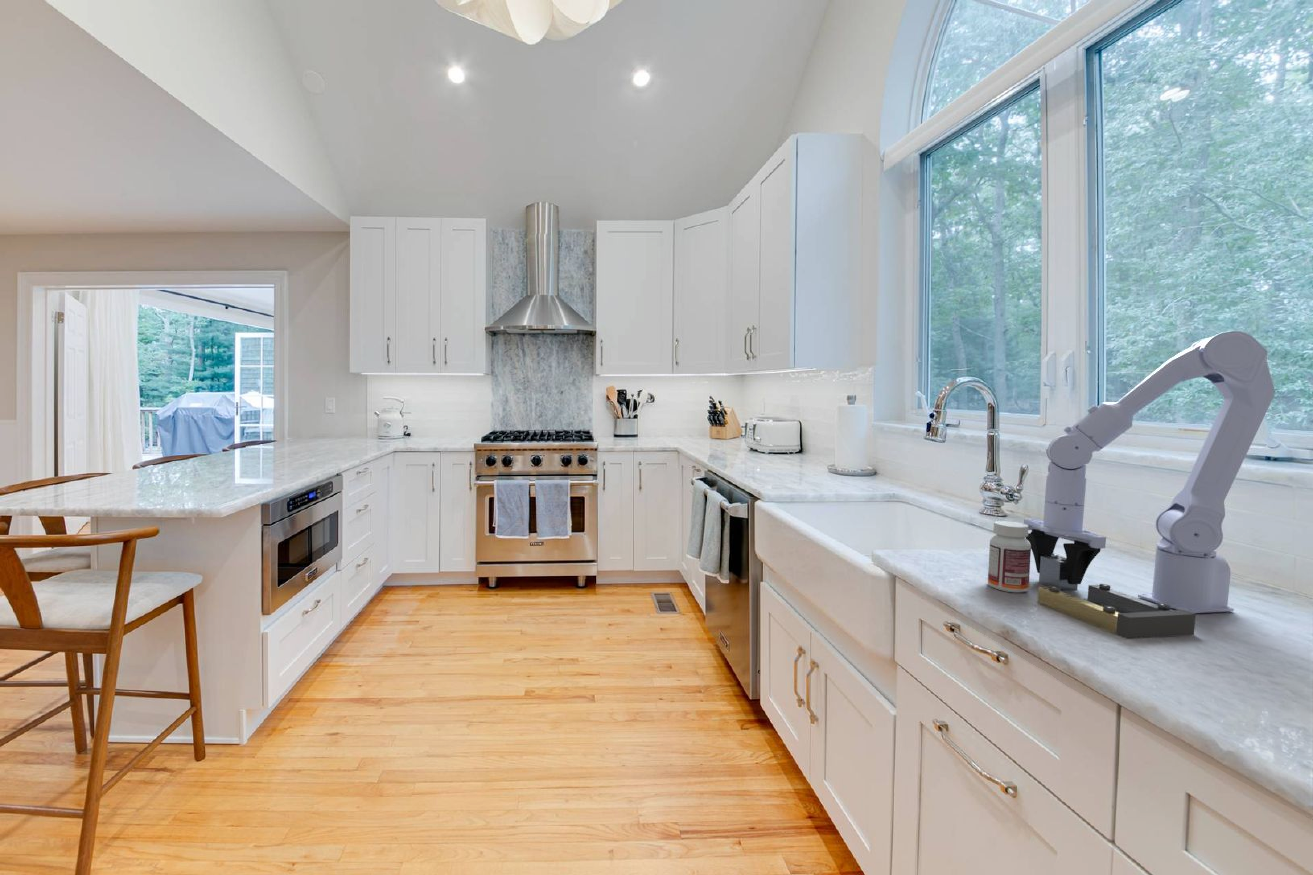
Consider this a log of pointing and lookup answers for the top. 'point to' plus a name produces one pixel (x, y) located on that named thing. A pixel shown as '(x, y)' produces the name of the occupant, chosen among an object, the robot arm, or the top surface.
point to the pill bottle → (1009, 557)
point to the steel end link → (1122, 600)
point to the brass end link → (1079, 608)
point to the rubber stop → (1155, 624)
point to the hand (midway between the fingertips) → (1058, 578)
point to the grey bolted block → (1055, 572)
